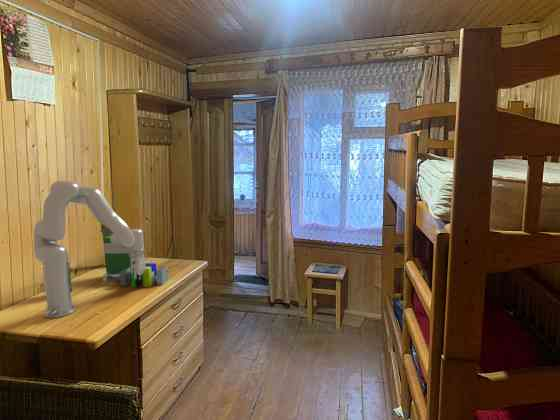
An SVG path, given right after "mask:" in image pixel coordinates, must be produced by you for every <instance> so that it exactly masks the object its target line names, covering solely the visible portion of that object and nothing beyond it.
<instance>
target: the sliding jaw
mask: <svg viewBox="0 0 560 420" xmlns="http://www.w3.org/2000/svg"><path fill="white" fill-rule="evenodd" d="M110 278H120V279H121V281H120V286H121V287H127V285H128V284H130V283H131V282H132V281H131V269H130V267H125V268H124V269H123V270H121V271H120V274H113V275H111V272H107V273H106V272H105V273H104V274H103V275H102V281H103V282H107V281H108V280H110Z"/></svg>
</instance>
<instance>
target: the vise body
mask: <svg viewBox="0 0 560 420" xmlns="http://www.w3.org/2000/svg"><path fill="white" fill-rule="evenodd" d="M168 271H169V270H168V269H167V265H161V266H159V267H158V268H157V269H156V275H157V281H156V283H157V284H156V285H157V286H163V285H164V284H165V283H166V282H167V280H168V279H169V272H168ZM113 274H120V271H117V272H113ZM113 282H121V279H120V278H114V279H113ZM130 282H132V280H131V281H130Z"/></svg>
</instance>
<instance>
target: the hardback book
mask: <svg viewBox="0 0 560 420" xmlns="http://www.w3.org/2000/svg"><path fill="white" fill-rule="evenodd" d="M110 237H111V235H110V236H107V237H104V238H103V237H102V241H103V251H104V253H103V254H104V263H105V271H106V272H105V274H106V273H107V272H111V275H113V272H117V271H121V270H123V269H124V268H125V267H130V269H131V257H129V248H124V247H120V246H116V245H114V244H113V243H112V242H111V240H110ZM110 279H111V280H114V278H110ZM110 279H109V280H110Z"/></svg>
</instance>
